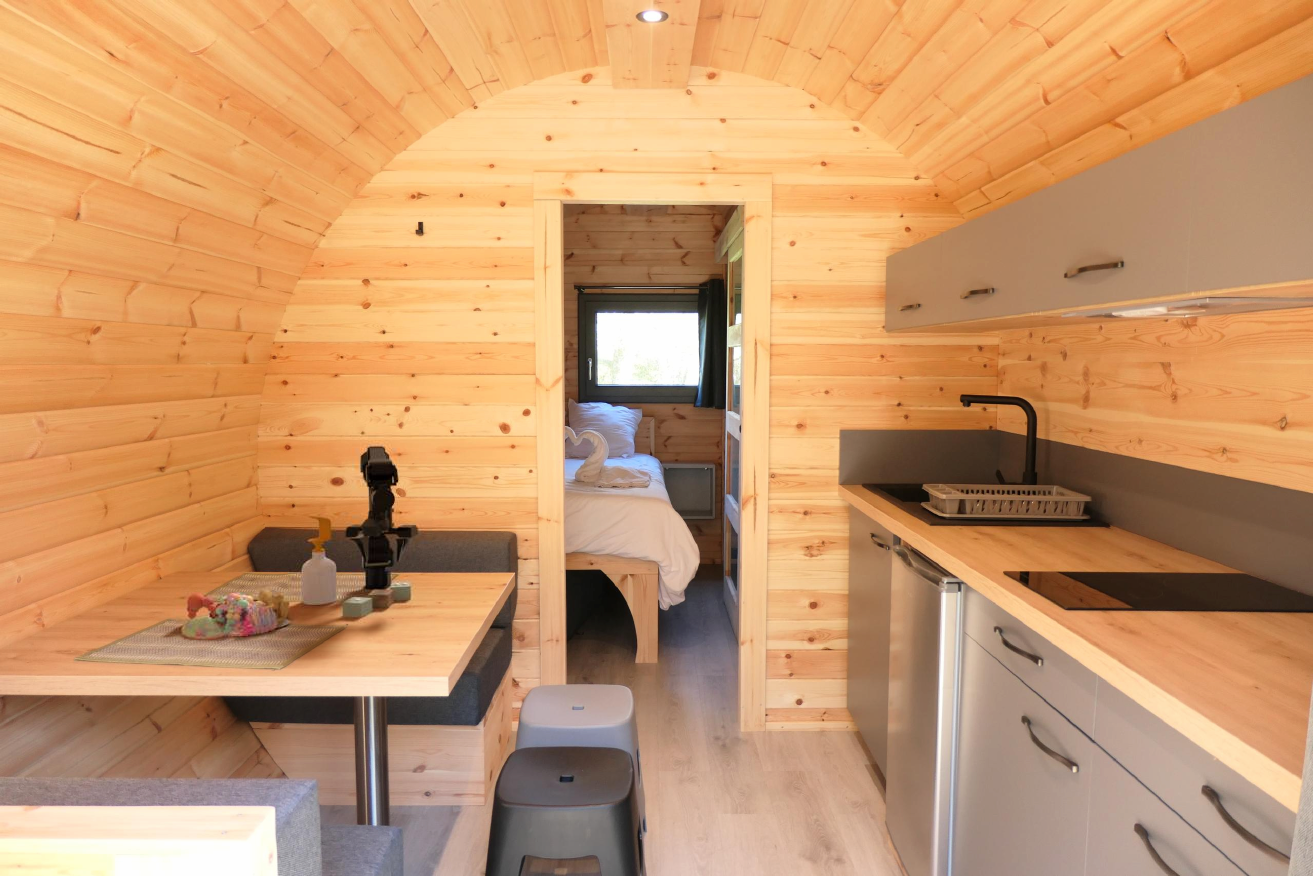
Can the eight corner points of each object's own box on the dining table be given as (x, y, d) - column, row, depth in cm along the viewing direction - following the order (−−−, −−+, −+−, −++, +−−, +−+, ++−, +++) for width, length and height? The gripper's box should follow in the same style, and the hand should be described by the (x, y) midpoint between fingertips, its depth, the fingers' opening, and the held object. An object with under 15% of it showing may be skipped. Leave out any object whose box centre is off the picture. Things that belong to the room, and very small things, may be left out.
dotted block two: (390, 601, 239) (390, 586, 239) (391, 596, 245) (391, 582, 244) (410, 600, 241) (410, 585, 240) (411, 595, 246) (411, 581, 246)
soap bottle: (295, 603, 235) (293, 516, 233) (319, 595, 244) (317, 512, 242) (319, 607, 232) (318, 519, 230) (343, 599, 240) (342, 514, 239)
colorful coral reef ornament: (271, 608, 231) (270, 575, 231) (305, 627, 215) (305, 591, 214) (170, 627, 214) (168, 591, 213) (199, 648, 197) (197, 610, 197)
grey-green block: (342, 617, 223) (342, 601, 223) (353, 611, 229) (353, 596, 228) (361, 618, 222) (361, 602, 222) (372, 612, 228) (372, 597, 227)
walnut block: (368, 609, 231) (368, 594, 231) (373, 603, 236) (373, 589, 236) (388, 609, 231) (388, 594, 231) (393, 603, 237) (393, 589, 236)
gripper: (335, 509, 225) (336, 567, 226) (403, 509, 224) (404, 568, 224) (353, 504, 236) (354, 559, 237) (418, 504, 235) (419, 560, 235)
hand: (382, 561), depth 233 cm, fingers open, 9 cm apart
